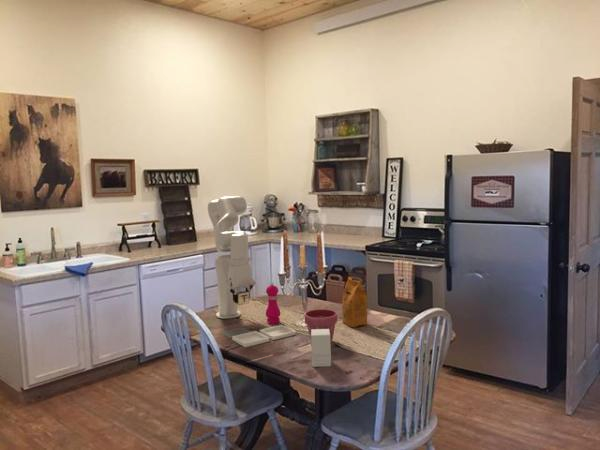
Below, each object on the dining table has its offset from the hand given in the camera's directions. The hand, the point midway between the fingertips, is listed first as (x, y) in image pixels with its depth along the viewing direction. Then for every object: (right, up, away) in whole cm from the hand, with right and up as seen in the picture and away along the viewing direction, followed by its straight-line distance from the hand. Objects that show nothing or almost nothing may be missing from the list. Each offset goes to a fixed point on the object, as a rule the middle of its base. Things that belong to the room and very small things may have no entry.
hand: (241, 301), depth 231 cm
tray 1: (+5, -17, -4) cm, 18 cm away
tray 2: (+16, -16, +4) cm, 23 cm away
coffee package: (+52, -13, +16) cm, 56 cm away
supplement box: (+35, -20, -31) cm, 50 cm away
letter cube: (0, -1, 0) cm, 1 cm away
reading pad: (-3, -16, +8) cm, 18 cm away
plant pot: (+36, -17, -7) cm, 40 cm away
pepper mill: (+13, -14, +22) cm, 29 cm away
